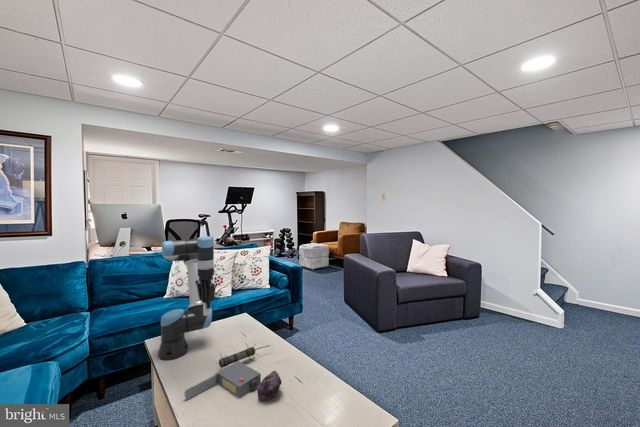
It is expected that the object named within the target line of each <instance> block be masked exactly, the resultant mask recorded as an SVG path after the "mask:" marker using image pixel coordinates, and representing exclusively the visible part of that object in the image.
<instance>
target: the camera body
mask: <svg viewBox="0 0 640 427" xmlns="http://www.w3.org/2000/svg"><path fill="white" fill-rule="evenodd" d="M220 370H221V371H220ZM220 370H219V371H217V372H216V373H217V376H218V384H217V385H220V386H221V387H223V388H224V389H226V391H229V392H230V393H231V394H233V395H234V396H236V397H237V398H238V399H240V398H242V397H244V396H246V395H247V394H248V393H249V392H250V391H252V390H255V389H257V388H258V386H259V385H260V383H261V382H262V376H261V372H259V371H257V370H255V369H253V368H252V367H250V366H249V365H246V364H244V363H243V362H241V361H240V360H239V361H237V362H234V363H232V364H229V365H228V366H225V367H224V368H223V369H220Z"/></svg>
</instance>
